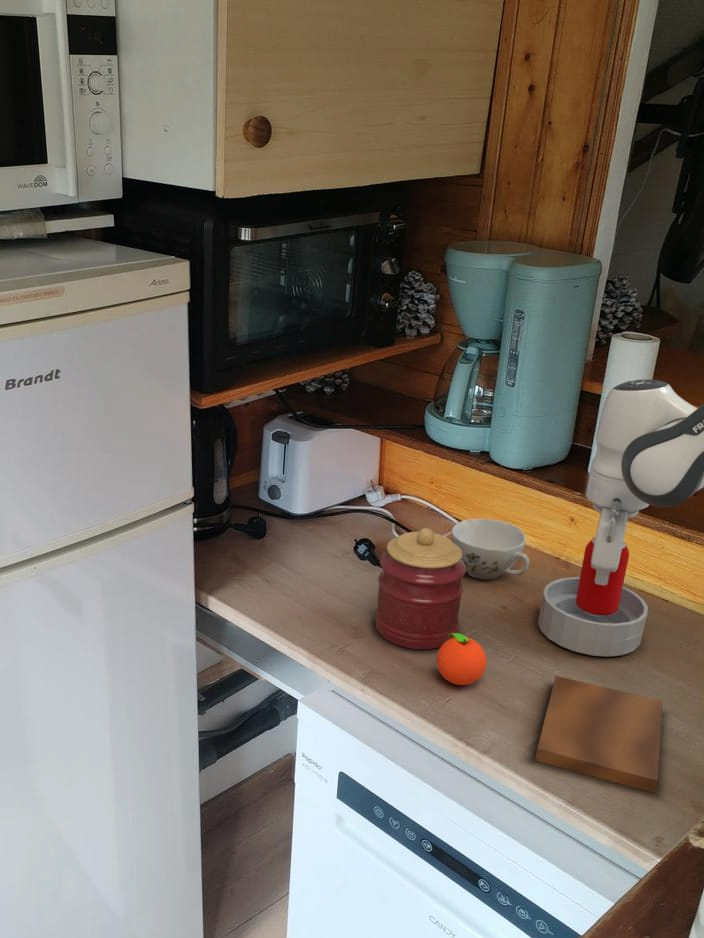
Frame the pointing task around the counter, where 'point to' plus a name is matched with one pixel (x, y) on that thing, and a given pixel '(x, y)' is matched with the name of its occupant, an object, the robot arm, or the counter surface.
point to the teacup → (490, 547)
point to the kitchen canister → (419, 590)
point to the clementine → (461, 660)
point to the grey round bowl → (591, 621)
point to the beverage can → (600, 586)
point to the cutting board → (602, 733)
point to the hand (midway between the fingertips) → (603, 572)
